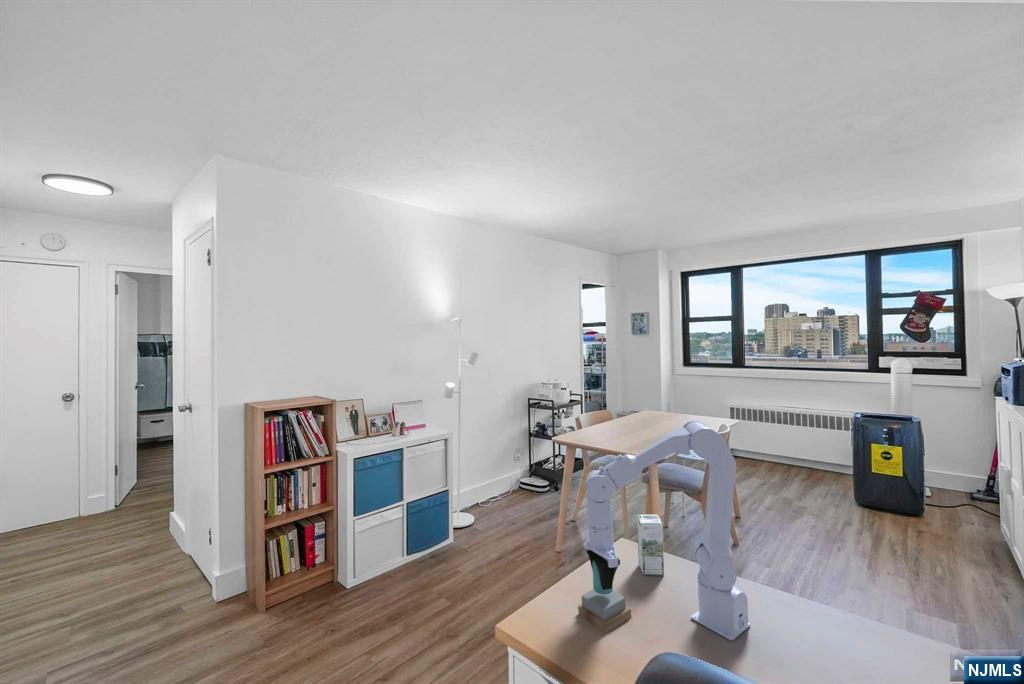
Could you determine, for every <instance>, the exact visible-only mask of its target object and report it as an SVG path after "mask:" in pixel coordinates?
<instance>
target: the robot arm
mask: <svg viewBox="0 0 1024 684" xmlns="http://www.w3.org/2000/svg"><path fill="white" fill-rule="evenodd" d="M691 451H693V453H694V454H696V455H697V456H698V457H700V458H702V459H703V460H705V461H706V462H707V464H708V465H709V472H708V484H707V496H706V509H705V520H704V532H703V534H701V535H700V538H699V543H698V544H697V546H696V548H695V550H694V559H695V562H696V563H697V565H699V571H698V573H697V590H698V591H697V593H698V595H697V596H698V610H697V611H696V612H695V613H693V614H692V615H690V618H691V620H693V621H695V622H697V623H699V624H701V625H702V626H704V627H706V628H708V629H709V630H711V631H713V632H714V633H716V634H718V635H720V636H722V637H724V638H725V639H727V640H729V641H734V640H735V639H736V638H737V637H739V636H740V635H742V633H743V632H744V631H746V630H747V629H748V628H749V627H750V626H751V622H749V607H748V605H749V604H748V597H747V594H746V593H745V592H744V591H742V590H741V589H740V588H738V587H737V586H736V585H735V584H736V582H737V579H738V578H737V577H738V576H737V571H736V570H735V567H734V555H733V554H734V553H733V551H732V548H731V543H730V541H731V531H732V529H731V528H732V517H733V507H734V495H735V485H736V484H735V483H736V475H737V474H736V471H737V462H736V460H735V457H734V455H733V453H732V452H731V450H730V448H729V447H728V444H727V441H726V439H725V438H723V436H721V435H720V434H719V433H718V432H717V431H715V430H714V429H712V428H710V427H709V426H708V425H706V424H705V423H703V422H702V421H701V420H690V421H687V422H686V423H684V424H683V425H680V426H678V427H675V428H674V429H673V430H672V431H670V432H669V433H667V434H666V435H664V436H662V437H661V438H659V439H658V440H657V441H655V442H653V443H651V444H650V445H648V446H647V447H646V448H644V449H642V450H641V451H639V452H637V453H636V454H635V455H634V454H629V453H625V454H624V455H622V454H620V453H619V454H618V455H617V456H616V457H615V458H616V459H615V460H613V461H611V462H610V463H608V464H606V465H605V466H603V465H601V466H599V467H598V469H594V470H592V471H589V473H588V474H587V476H586V477H585V480H584V485H585V489H586V490H585V491H586V493H587V496H586V502H587V503H586V515H587V516H586V517H587V518H586V519H587V529H586V530H585V531H586V532H585V533H586V534H585V535H586V539H587V542H585V543H583V548H584V550H585V551H586V554H587V556H588V559H589V562H590V566H591V571H592V572H593V563H592V562H593V560H594V562H595V564H596V566H597V569H598V572H599V577H600V583H601V587H602V589H603V590H607V589H611V588H612V584H613V582H614V578H615V575H616V571H617V570H618V568H619V566H620V565H621V560H620V559H619V557H618V556H617V553H616V545H615V542H614V525H613V521H614V520H613V505H612V503H611V501H612V500H611V498H612V496H613V494H614V491H618V490H619V489H621V488H623V487H624V486H627V485H628V484H630V483H632V482H633V481H635V480H637V479H639V478H640V477H641V475H642V473H643V469H645V468H647V467H649V466H651V465H653V464H655V463H657V462H660V461H661V460H663V459H665V458H667V457H669V456H671V455H673V454H680V455H686V456H691V455H692V453H691ZM613 585H614V584H613Z"/></svg>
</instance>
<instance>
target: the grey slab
mask: <svg viewBox="0 0 1024 684" xmlns="http://www.w3.org/2000/svg"><path fill="white" fill-rule="evenodd" d="M581 604H582V606H583V607H584V608H586V609H587V610H589V611H590V612H592V613H593V614H595V615H596V616H598V617H599V618H601V619H602V620H604V621H606V620H607V619H609V618H611V617H612V616H614V615H616V614H617V613H619V612H621V611H622V610H624V609H625V608H626V606H627V605H626V597H624V596H623V595H621V594H620V593H618V592H616V591H614V590H613V591H612V592H611V593H610V594H599V593H597V592H595V591H594V589H593V588H592V589H591V590H589V591H587V592H585V593H583V594H582V595H581Z"/></svg>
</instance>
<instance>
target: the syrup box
mask: <svg viewBox="0 0 1024 684" xmlns="http://www.w3.org/2000/svg"><path fill="white" fill-rule="evenodd" d="M636 525H637V526H636V527H637V528H636V529H637V550H638V551H637V552H638V553H637V554H638V556H637V557H638V565H639V568H640V572H641V574H642V575H643V576H665V559H664V528H663V527H664V526H663V523H662V520H661V518H660V516H659V515H658V514H637V515H636Z"/></svg>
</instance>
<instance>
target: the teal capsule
mask: <svg viewBox="0 0 1024 684" xmlns="http://www.w3.org/2000/svg"><path fill="white" fill-rule="evenodd" d="M592 563H593V571H592V583H593V588H592V590H593V589H594V591H595V592H597V593H599V594H610V593H611V592H612V591H614V589H613V587H614V586H613V585H614V584H612V588H611V589H607V590H603V589H602V587H601V583H600V577H599V572H598V569H597V566H596V564H595V562H594V560H593V562H592Z"/></svg>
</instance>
